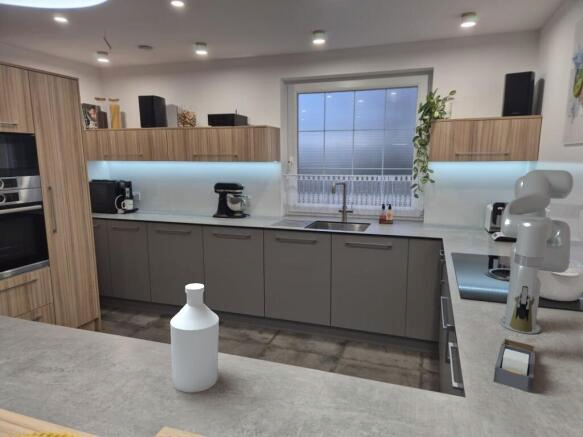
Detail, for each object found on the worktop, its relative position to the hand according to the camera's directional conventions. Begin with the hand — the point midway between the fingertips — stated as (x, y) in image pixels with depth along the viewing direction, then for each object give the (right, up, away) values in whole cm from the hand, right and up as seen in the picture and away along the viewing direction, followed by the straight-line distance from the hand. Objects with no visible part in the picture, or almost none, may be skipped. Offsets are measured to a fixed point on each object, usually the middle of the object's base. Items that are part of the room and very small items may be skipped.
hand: (521, 317), depth 114 cm
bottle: (-96, -11, -18) cm, 99 cm away
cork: (0, -4, 0) cm, 3 cm away
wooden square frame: (-1, -12, +1) cm, 12 cm away
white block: (-11, -13, -14) cm, 22 cm away
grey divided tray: (-9, -13, -10) cm, 19 cm away
